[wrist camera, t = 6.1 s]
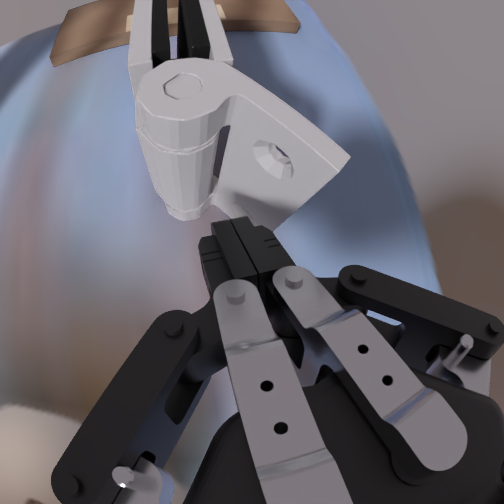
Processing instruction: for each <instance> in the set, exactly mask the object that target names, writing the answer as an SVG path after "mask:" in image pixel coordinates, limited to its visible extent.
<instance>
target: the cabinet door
mask: <svg viewBox="0 0 504 504" xmlns="http://www.w3.org/2000/svg"><path fill="white" fill-rule="evenodd" d="M178 1H179V0H167V12H168V28H169V36H174V35H177V29H178ZM214 2H215V5H216V8H217V11H218V14H219V17H220V20H221V22H222V25H223V28H224V31H272V32H288V33H297V30H298V28H299V26H300V24H301V23H300V22H299V20H298V19H297V17H296V16H295V15H294V13H293V12H292V11H291V9H290V8H289V7H288V5H287V4H286V3H285V1H284V0H214ZM134 5H135V0H99V1H95V2H92V3H89V4H85V5H83V6H80V7H76V8H74V9H71V10H69V11H68V13H67V14H66V17H65V19H64V21H63V23H62V26H61V28H60V30H59V33H58V35H57V38H56V40H55V43H54V46H53V48H52V51H51V54H50V60H51V62H52V64H53V66H54V67H56V66H58V65H61V64H63V63H66V62H69V61H71V60H74V59H77V58H80V57H83V56H86V55H89V54H92V53H96V52H99V51H102V50H106V49H110V48H113V47H117V46H121V45H125V44H130V34H131V26H132V18H133V11H134Z"/></svg>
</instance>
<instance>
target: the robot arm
mask: <svg viewBox="0 0 504 504" xmlns="http://www.w3.org/2000/svg"><path fill="white" fill-rule="evenodd" d="M211 231H212V235H211V236H206V237H202V238H201V239H200V242H199V245H198V248H199V254H200V259H201V265H202V270H203V275H204V279H205V282H206V285H207V289H208V292H209V295H210V300H209V301H208V303H207V304H206V305H205V306H204V307H203V308H202V309H200V310H198V311H197V312H195V313H193V314H190V313H188V312H186V311H182V310H172V311H168V312H165V313H163V314H162V315H160V316H159V317H158V318H156V320H155V321H154V322H153V323H152V325H151V326H150V328H149V329H148V330H147V332H146V333H145V334H144V336H143V337H142V338H141V340H140V341H139V343H138V344H137V345H136V347H135V348H134V350H133V351H132V352H131V354H130V355H129V357H128V358H127V359H126V361H125V362H124V364H123V365H122V367H121V368H120V369H119V371H118V372H117V374H116V375H115V377H114V378H113V379H112V381H111V382H110V384H109V385H108V387H107V388H106V390H105V391H104V392H103V394H102V395H101V397H100V398H99V400H98V401H97V403H96V404H95V406H94V407H93V409H92V410H91V412H90V413H89V415H88V416H87V418H86V419H85V421H84V422H83V424H82V425H81V427H80V428H79V430H78V432H77V433H76V435H75V436H74V438H73V439H72V441H71V442H70V444H69V446H68V447H67V449H66V450H65V452H64V454H63V455H62V457H61V458H60V460H59V462H58V463H57V465H56V466H55V468H54V470H53V472H52V476H51V485H52V489H53V492H54V494H55V496H56V497H57V499H58V500H59V501H60V502H61V503H62V504H172V503H171V500H172V496H173V493H174V482H173V479H172V477H171V476H170V474H169V473H168V472H167V471H166V470H165V469H163V467H164V465H165V464H166V462H167V460H168V458H169V456H170V454H171V453H172V451H173V449H174V447H175V445H176V443H177V442H178V440H179V438H180V436H181V434H182V432H183V431H184V429H185V427H186V425H187V423H188V421H189V419H190V417H191V416H192V414H193V412H194V410H195V408H196V406H197V404H198V402H199V400H200V399H201V397H202V395H203V393H204V391H205V389H206V387H207V385H208V383H209V381H210V379H211V375H213V374H214V373H216V372H218V371H219V370H221V369H222V368H224V367H226V366H227V367H228V371H229V375H230V380H231V384H232V388H233V392H234V396H235V400H236V404H237V408H238V412H237V413H235V414H234V415H233V416H231V417H230V418H229V419H228V420H227V421H226V422H225V423H223V425H222V426H221V427H220V428H219V429H218V431H217V432H216V434H215V435H214V437H213V439H212V441H211V443H210V445H209V448H208V450H207V452H206V454H205V457H204V459H203V461H202V463H201V466H200V468H199V470H198V472H197V474H196V477H195V479H194V481H193V483H192V485H191V487H190V489H189V492H188V494H187V496H186V498H185V500H184V502H183V504H504V415H503V412H502V410H501V408H500V407H499V405H498V404H497V403H496V402H495V401H494V400H493V399H491V398H490V397H488V396H489V384H490V371H491V370H490V369H491V358H492V356H493V355H494V354H495V353H496V352H497V350H498V349H499V348H500V347H501V346H502V344H503V343H504V325H503V324H502V322H501V321H500V320H499V319H498V318H497V317H495V316H493V315H490V314H488V313H485V312H483V311H480V310H478V309H475V308H473V307H471V306H468V305H465V304H463V303H460V302H458V301H455V300H453V299H450V298H447V297H445V296H442V295H439V294H437V293H434V292H432V291H429V290H426V289H424V288H421V287H418V286H416V285H413V284H410V283H408V282H405V281H402V280H399V279H397V278H394V277H391V276H388V275H386V274H383V273H380V272H377V271H375V270H372V269H369V268H366V267H363V266H360V265H349V266H346V267H344V268H342V269H341V271H340V272H339V276H338V277H337V278H317V277H315V276H314V275H313V274H312V273H311V272H310V271H309V270H307V269H305V268H303V267H299V266H296V265H295V263H294V262H293V260H292V259H291V258H290V256H289V255H288V253H287V252H286V251H285V249H284V248H283V246H282V245H281V244H280V242H279V241H278V239H276V237H275V235H274V234H273V232H272V231H271V230H269V229H268V228H266V227H264V226H263V225H259V226H254V225H253V224H252V222H251V220H250V219H249V217H248V216H243V217H238V218H233V219H229V220H223V221H218V222H213V223H211ZM368 310H371V311H373V312H376V313H379V314H381V315H384V316H386V317H389V318H392V319H394V320H397V321H399V322H401V324H400V325H396V326H395V325H391V324H388V323H386V322H383V321H380V320H378V319H375V318H373V317H370V316H367V312H368ZM270 323H271V324H270Z"/></svg>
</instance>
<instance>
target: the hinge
mask: <svg viewBox="0 0 504 504" xmlns="http://www.w3.org/2000/svg"><path fill="white" fill-rule="evenodd" d="M233 61H234V59H233V56H232V53H231V50H230V47H229V43H228V40H227V37H226V34H225V31H224V28H223V25H222V22H221V20H220V17H219V14H218V11H217V8H216V5H215V2H214V0H179V1H178V29H177V58H176V59H170V41H169V28H168V12H167V0H135V5H134V11H133V18H132V26H131V34H130V44H129V55H128V70H129V75H130V80H131V85H132V90H133V95H134V99H135V117H136V131H137V134H138V138H139V141H140V144H141V148H142V151H143V154H144V157H145V161H146V164H147V167H148V170H149V173H150V176H151V179H152V182H153V185H154V188H155V191H156V192H157V193H158V195H159V196H160V197H161V198H162V199H163V200H164V202H165V205H166V208H167V210H168V213H169V214H170V215H172V216H173V217H175V218H177V219H179V220H181V221H188V220H193V219H198V218H199V217H200V216H201V215H202V214H203V213H204V211H205V210H206V209H207V208H208V207H209V206H210V205H212V204H214V205H216V206H217V207H219V208H220V209H221V210H222V211H223V212H225V213H226V214H227V215H228V216H229V217H230V218H232V219H233V218H238V217H243V216H248V217H249V219H250V220H251V222H252V224H253V225H254V226H259V225H263V226H264V227H266V228H268V229H269V230H271V231H272V232H273V231H274V230H275V229H276V228H277V227H278V226H280V225H281V224H282V223H283V222H284V221H285V220H286V219H287V218H288V217H290V216H291V215H292V214H293V213H294V212H295V211H296V210H297V209H299V208H300V207H301V206H302V205H303V204H304V203H305V202H306V201H308V200H309V199H310V198H311V197H312V196H313V195H314V194H315V193H316V192H318V191H319V190H320V189H321V188H322V187H323V186H324V185H325V184H327V183H328V182H329V181H330V180H331V179H332V178H333V177H334V176H336V175H337V174H338V173H339V172H340V171H341V169H342V168H343V167H344V165H345V164H346V163H347V161H348V160H349V159H350V158H351V156H350V155H349V154H348V153H347V152H345V151H344V150H343V149H342V148H341V147H340V146H339V145H338V144H336V143H335V142H334V141H333V140H332V139H331V138H329V137H328V136H327V135H326V134H325V133H323V132H322V131H321V130H320V129H319V128H317V127H316V126H315V125H314V124H312V123H311V122H310V121H309V120H307V119H306V118H305V117H304V116H302V115H301V114H300V113H298V112H297V111H296V110H295V109H293V108H292V107H291V106H289V105H288V104H287V103H285V102H284V101H282V100H281V99H280V98H278V97H277V96H275V95H274V94H273V93H271V92H270V91H268V90H267V89H265V88H264V87H263V86H261V85H260V84H258V83H257V82H255V81H254V80H252V79H251V78H249V77H247V76H246V75H244V74H243V73H241V72H240V71H238V70H236V69H235V68H233V67H232V66H233ZM227 125H230V126H231V127H230V131H229V135H228V140H227V144H226V148H225V153H224V157H223V162H222V166H221V171H220V176H219V179H218V178H217V177H216V176H215V175H213V169H214V163H215V157H216V151H217V145H218V139H219V134H220V130H221V129H222V127H224V126H227ZM276 146H277V147H279V148H280V149H281V150H282V151H283V152H284V153H285V154H286V155H287V156H288V157H289V158H288V157H286V156H284V155H283V154H281V153H280V152H279V151H278V150H277V148H276ZM185 212H186V213H185Z"/></svg>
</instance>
